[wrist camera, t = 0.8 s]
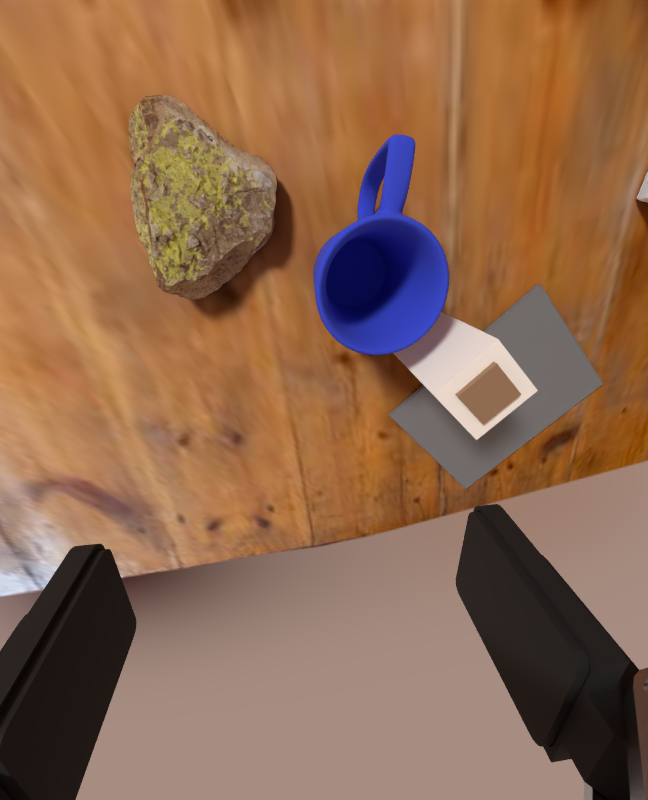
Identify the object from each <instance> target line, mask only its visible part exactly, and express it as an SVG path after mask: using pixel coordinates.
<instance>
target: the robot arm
mask: <svg viewBox="0 0 648 800" xmlns="http://www.w3.org/2000/svg"><path fill="white" fill-rule="evenodd" d="M456 587H457V590H458V593H459V595H460V597H461V599H462V601H463V603H464V605H465V607H466V609H467V611H468V613H469V615H470V617H471V619H472V621H473V623H474V625H475V627H476V629H477V631H478V633H479V635H480V637H481V639H482V641H483V643H484V645H485V646H486V649H487V651H488V653H489V655H490V656H491V658H492V660H493V662H494V664H495V666H496V668H497V670H498V672H499V674H500V676H501V678H502V680H503V682H504V684H505V686H506V688H507V690H508V692H509V694H510V696H511V698H512V700H513V702H514V704H515V706H516V708H517V710H518V711H519V714H520V715H521V717H522V720H523V722H524V723H525V725H526V727H527V729H528V731H529V733H530V735H531V737H532V739H533V740H534V741H535V743H536V744H537V745H539V746H543V747H544V749H545V751H546V752H547V755H548V757H549V759H550V761H551V762H556V761H562V760H567V759H572V760H573V762H574V764H575V766H576V768H577V769H578V771H579V773H580V775H581V776H582V778H583V780H584V800H648V668H645V669H641V670H639V669H638V668H637V667H636V666H635V664H634V663H633V662H632V661H631V660H630V658H629V657H628V656H627V655H626V654H625V652H624V651H623V650H622V649H621V648H620V647H619V645H618V644H617V643H616V642H615V641H614V639H613V638H612V637H611V636H610V634H609V633H608V632H607V631H606V630H605V629H604V627H603V626H602V625H601V624H600V622H599V621H598V620H597V619H596V618H595V617H594V615H593V614H592V613H591V612H590V611H589V609H588V608H587V607H586V606H585V605H584V603H583V602H582V601H581V600H580V598H579V597H578V596H577V595H576V594H575V592H573V590H572V589H571V588H570V587H569V585H568V584H567V583H566V582H565V581H564V579H563V578H562V577H561V576H560V575H559V573H558V572H557V571H556V570H555V569H554V567H553V566H552V565H551V564H550V563H549V561H548V560H547V559H546V558H545V557H544V556H543V555H541V554H540V553H539V551H538V550H537V549H536V548H535V547H534V546H533V544H532V543H531V542H530V541H529V539H528V538H527V537H526V536H525V535H524V533H523V532H522V531H521V530H520V529H519V527H518V526H517V525H516V524H515V522H514V521H513V520H512V519H511V518H510V517H509V515H508V514H507V513H506V512H505V510H504V509H503V508H502V507H501V506H500V505H497V504H494V505H484V506H476V507H475V508H474V512H471V513H470V514H469V516H468V521H467V526H466V531H465V536H464V541H463V546H462V551H461V556H460V561H459V566H458V572H457V576H456ZM135 630H136V617H135V615H134V612H133V609H132V606H131V604H130V601H129V598H128V596H127V593H126V590H125V587H124V585H123V582H122V579H121V576H120V574H119V571H118V568H117V565H116V563H115V560H114V557H113V555H112V552H111V550H109V549H105V548H104V546H103V545H102V544H93V545H83V546H75V547H73V548H72V549H71V550H70V551H69V552H68V554H67V555H66V557H65V558H64V560H63V561H62V563H61V564H60V566H59V567H58V569H57V570H56V572H55V573H54V575H53V577H52V578H51V580H50V581H49V583H48V584H47V586H46V587H45V589H44V590H43V592H42V593H41V595H40V596H39V598H38V599H37V601H36V602H35V604H34V605H33V607H32V608H31V610H30V611H29V613H28V614H26V615H25V616H24V617H23V619H22V620H21V621H20V623H19V624H18V625H17V627H16V628H15V630H14V631H13V633H12V634H11V636H10V637H9V639H8V640H7V642H6V643H5V645H4V646H3V648H2V649H1V651H0V800H75V799H76V796H77V794H78V791H79V788H80V785H81V782H82V779H83V777H84V774H85V771H86V768H87V766H88V763H89V760H90V757H91V754H92V751H93V749H94V746H95V743H96V741H97V738H98V735H99V732H100V729H101V727H102V724H103V721H104V718H105V715H106V713H107V710H108V707H109V704H110V702H111V698H112V696H113V693H114V690H115V688H116V685H117V682H118V679H119V676H120V673H121V671H122V668H123V665H124V662H125V660H126V657H127V654H128V651H129V649H130V646H131V643H132V640H133V637H134V634H135Z"/></svg>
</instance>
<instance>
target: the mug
mask: <svg viewBox="0 0 648 800" xmlns="http://www.w3.org/2000/svg"><path fill="white" fill-rule="evenodd" d="M414 153H415V141H414V139H413V138H411V137H409V136H406V135H393V136H391V137H390V138H389V139H388V140H387V141H386V142H385V143H384V144H383V146H382V147H381V148H380V149H379V151H378V152H377V153H376V155H375V156H374V158H373V159H372V161H371V162H370V164H369V166H368V168H367V170H366V172H365V175H364V178H363V181H362V185H361V189H360V195H359V202H358V221H356V222H354V223H353V224H351V225H350V226H348V227H346V228H345V229H343V230H342V231H340V232H339V233H337V234H336V235H334V236H333V237H332V238H330V239H329V240H328V241H327V242H326V243H325V245H324V246H323V247H322V249H321V250H320V252H319V254H318V256H317V259H316V262H315V266H314V287H315V296H316V303H317V308H318V311H319V314H320V317H321V319H322V321H323V323H324V325H325V327H326V328H327V330H328V331H329V332H330V334H331V335H332V336H333V337H334V338H335V339H336V340H337V341H338V342H340V343H341V344H342V345H344V346H345V347H347V348H349V349H351V350H353V351H356V352H359V353H363V354H368V355H386V354H391V353H395V352H398V351H401V350H403V349H405V348H407V347H409V346H411V345H413V344H414V343H416V342H417V341H418V340H420V339H421V338H422V337H423V336H424V335H425V334H426V333H427V332H428V331H429V330H430V329H431V328H432V326H433V325H434V324H435V322H436V321H437V319H438V317H439V315H440V313H441V311H442V309H443V307H444V304H445V301H446V298H447V293H448V286H449V271H448V264H447V260H446V256H445V254H444V251H443V249H442V247H441V245H440V243H439V242H438V240H437V239H436V237H435V236H434V235H433V234H432V233H431V231H430V230H429V229H427V228H426V227H425V226H424V225H422V224H421V223H419V222H418V221H416V220H414V219H412V218H409V217H406V216H403V215H402V211H403V207H404V204H405V201H406V197H407V193H408V189H409V184H410V178H411V173H412V167H413V161H414ZM383 178H384V183H383V191H382V198H381V202H380V206H379V208H378V210H377V212H376V213H375V214H374V211H375V204H376V199H377V194H378V190H379V187H380V184H381V182H382V180H383Z"/></svg>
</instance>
